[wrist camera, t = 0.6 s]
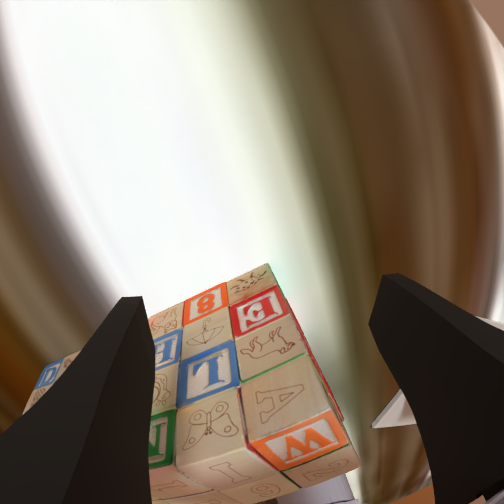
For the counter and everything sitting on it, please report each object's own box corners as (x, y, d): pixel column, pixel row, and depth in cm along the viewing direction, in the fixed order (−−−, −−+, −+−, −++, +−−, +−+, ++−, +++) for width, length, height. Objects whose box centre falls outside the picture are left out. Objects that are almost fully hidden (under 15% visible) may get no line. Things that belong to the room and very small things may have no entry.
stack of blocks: (89, 409, 24) (63, 519, 12) (44, 364, 21) (-4, 477, 10) (302, 326, 22) (365, 469, 11) (269, 258, 20) (336, 413, 9)
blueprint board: (527, 328, 30) (529, 331, 29) (468, 411, 35) (470, 413, 34) (451, 310, 24) (455, 313, 24) (371, 424, 30) (373, 428, 29)
